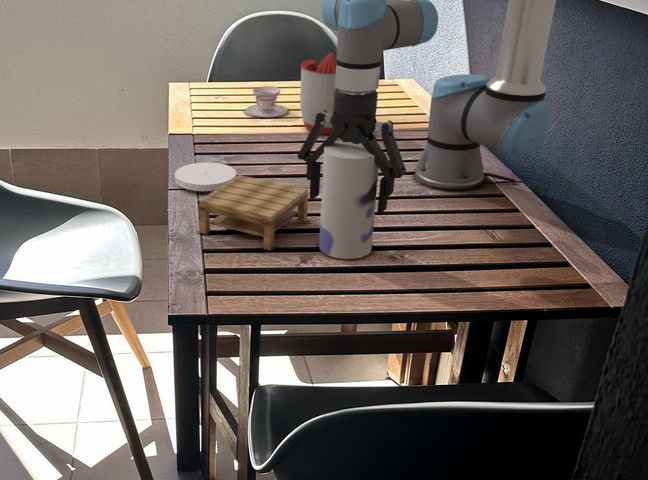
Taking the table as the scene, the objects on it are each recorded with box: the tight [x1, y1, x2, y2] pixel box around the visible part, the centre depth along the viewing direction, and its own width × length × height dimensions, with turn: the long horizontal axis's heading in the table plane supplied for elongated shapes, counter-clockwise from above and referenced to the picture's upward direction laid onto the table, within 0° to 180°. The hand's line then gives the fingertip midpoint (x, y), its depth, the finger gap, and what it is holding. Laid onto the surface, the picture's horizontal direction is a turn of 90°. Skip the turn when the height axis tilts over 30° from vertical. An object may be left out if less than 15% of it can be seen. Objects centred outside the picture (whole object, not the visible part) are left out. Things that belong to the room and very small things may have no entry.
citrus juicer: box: [299, 52, 337, 135], centre depth 213 cm, size 16×17×20 cm
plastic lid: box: [174, 161, 237, 192], centre depth 184 cm, size 14×14×2 cm
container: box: [318, 139, 380, 260], centre depth 150 cm, size 10×10×20 cm
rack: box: [198, 174, 309, 251], centre depth 163 cm, size 16×16×7 cm
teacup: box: [245, 85, 288, 118], centre depth 230 cm, size 12×12×6 cm
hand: (347, 203), depth 151 cm, fingers open, 13 cm apart
